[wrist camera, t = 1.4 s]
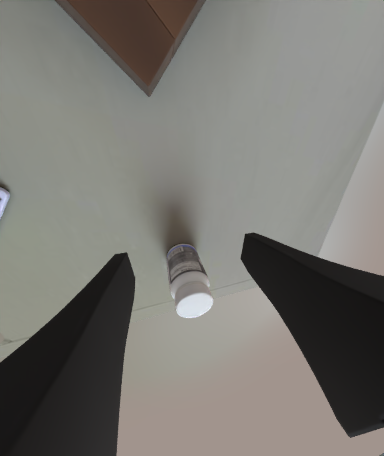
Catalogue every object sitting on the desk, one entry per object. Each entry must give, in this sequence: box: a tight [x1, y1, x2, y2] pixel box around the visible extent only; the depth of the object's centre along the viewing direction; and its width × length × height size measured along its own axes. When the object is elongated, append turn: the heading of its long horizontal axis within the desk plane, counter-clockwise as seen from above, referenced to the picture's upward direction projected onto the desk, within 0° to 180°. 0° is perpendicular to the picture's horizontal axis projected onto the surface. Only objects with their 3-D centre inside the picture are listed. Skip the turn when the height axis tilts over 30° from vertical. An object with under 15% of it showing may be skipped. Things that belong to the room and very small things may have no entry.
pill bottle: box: [167, 244, 213, 318], centre depth 18 cm, size 5×5×8 cm
